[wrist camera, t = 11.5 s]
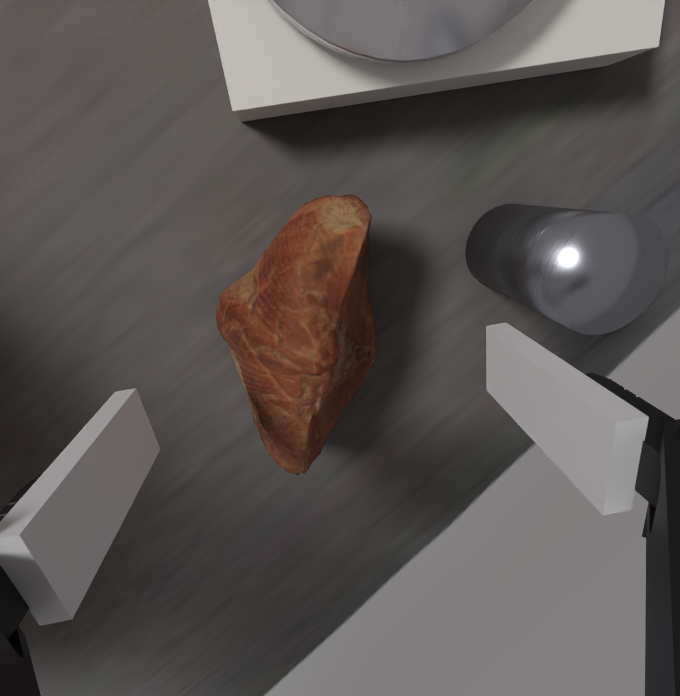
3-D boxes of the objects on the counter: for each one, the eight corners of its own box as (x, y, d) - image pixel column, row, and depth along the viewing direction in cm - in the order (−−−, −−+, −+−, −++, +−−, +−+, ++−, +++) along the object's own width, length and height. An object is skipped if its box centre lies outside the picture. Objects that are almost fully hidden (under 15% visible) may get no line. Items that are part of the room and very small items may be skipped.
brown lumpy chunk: (311, 135, 16) (383, 332, 11) (427, 224, 22) (511, 383, 17) (171, 315, 23) (174, 491, 18) (287, 348, 28) (316, 489, 23)
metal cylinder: (466, 293, 23) (548, 344, 16) (464, 211, 21) (555, 225, 14) (542, 279, 24) (657, 323, 16) (546, 197, 22) (678, 204, 14)
